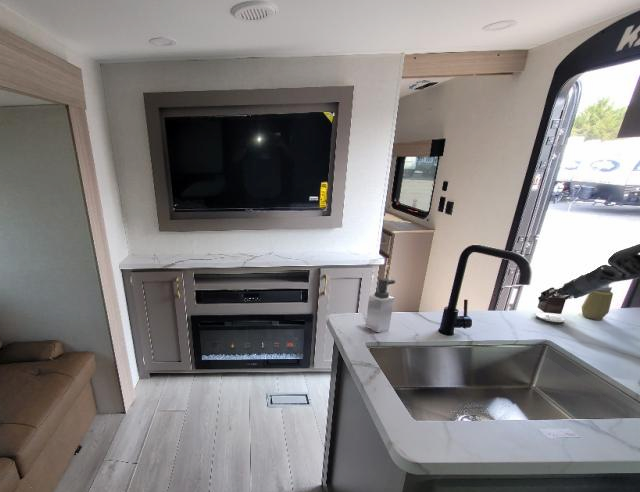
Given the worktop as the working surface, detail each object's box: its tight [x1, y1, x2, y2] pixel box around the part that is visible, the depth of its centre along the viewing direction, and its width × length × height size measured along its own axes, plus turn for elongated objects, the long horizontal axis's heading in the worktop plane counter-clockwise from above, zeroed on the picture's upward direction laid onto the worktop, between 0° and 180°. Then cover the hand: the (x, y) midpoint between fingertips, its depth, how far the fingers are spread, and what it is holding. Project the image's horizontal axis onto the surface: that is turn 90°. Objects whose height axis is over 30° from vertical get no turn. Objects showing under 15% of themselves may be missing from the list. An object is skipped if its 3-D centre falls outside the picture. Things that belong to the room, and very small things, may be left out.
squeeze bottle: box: [581, 284, 614, 321], centre depth 136 cm, size 8×8×18 cm
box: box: [537, 293, 567, 315], centre depth 137 cm, size 6×6×7 cm
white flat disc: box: [535, 312, 566, 325], centre depth 138 cm, size 9×9×1 cm
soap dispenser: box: [365, 277, 396, 333], centre depth 133 cm, size 6×9×22 cm
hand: (549, 299), depth 138 cm, fingers closed on box, 7 cm apart
